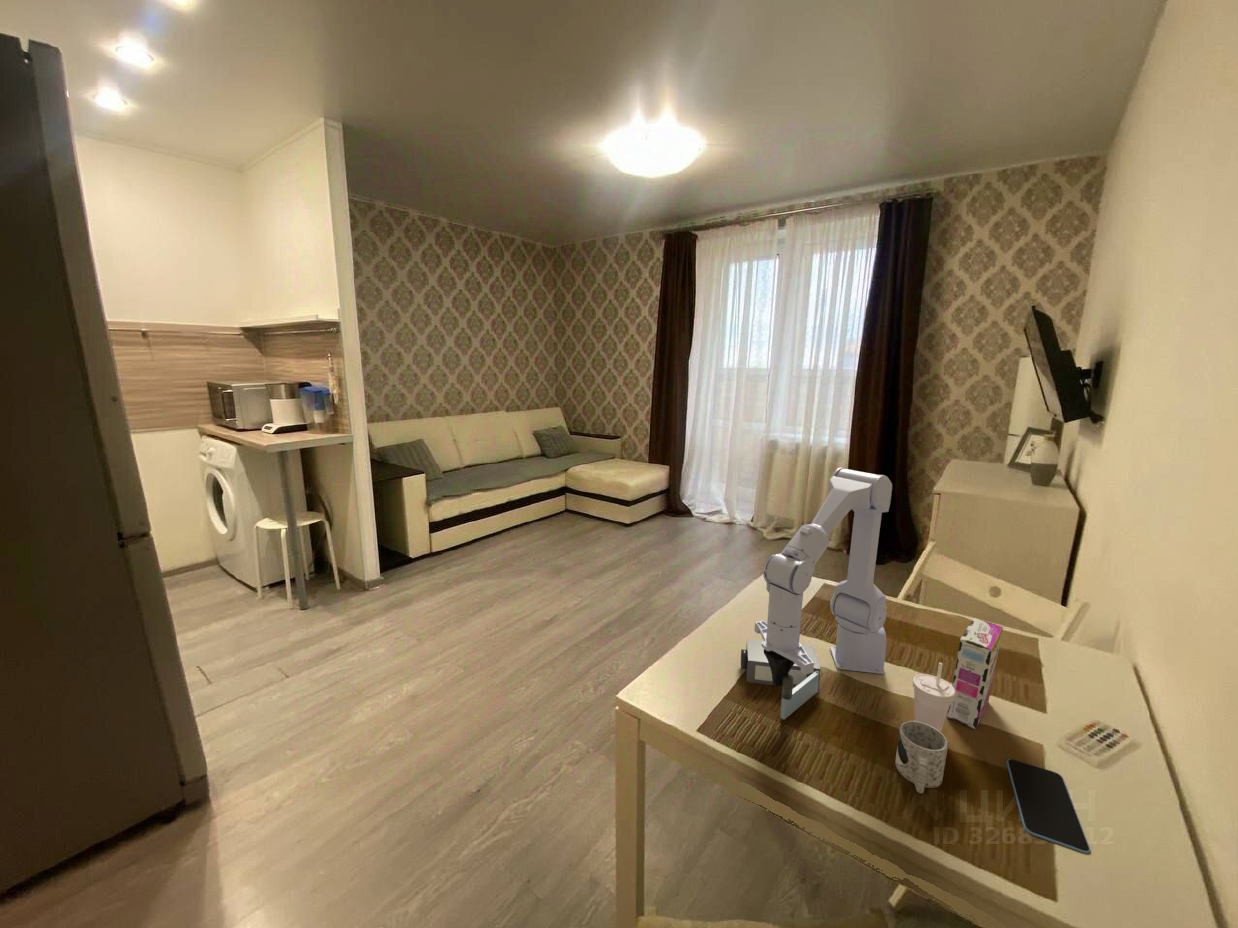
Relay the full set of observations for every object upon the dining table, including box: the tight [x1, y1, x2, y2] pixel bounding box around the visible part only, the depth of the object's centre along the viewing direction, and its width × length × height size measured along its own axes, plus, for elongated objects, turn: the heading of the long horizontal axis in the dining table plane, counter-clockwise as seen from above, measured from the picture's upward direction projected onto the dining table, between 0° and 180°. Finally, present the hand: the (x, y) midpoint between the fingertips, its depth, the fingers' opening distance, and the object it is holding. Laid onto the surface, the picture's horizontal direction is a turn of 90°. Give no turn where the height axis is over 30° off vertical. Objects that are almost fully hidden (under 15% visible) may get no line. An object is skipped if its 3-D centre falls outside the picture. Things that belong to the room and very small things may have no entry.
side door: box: [779, 671, 820, 720], centre depth 95 cm, size 12×2×8 cm, turn 130°
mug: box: [895, 720, 949, 794], centre depth 79 cm, size 10×7×7 cm
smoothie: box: [911, 662, 955, 733], centre depth 88 cm, size 6×6×14 cm
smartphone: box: [1006, 758, 1091, 854], centre depth 75 cm, size 7×1×15 cm
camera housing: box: [740, 638, 821, 692], centre depth 105 cm, size 15×8×5 cm, turn 78°
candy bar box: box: [946, 617, 1004, 730], centre depth 93 cm, size 11×5×16 cm, turn 135°
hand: (779, 684), depth 93 cm, fingers closed
